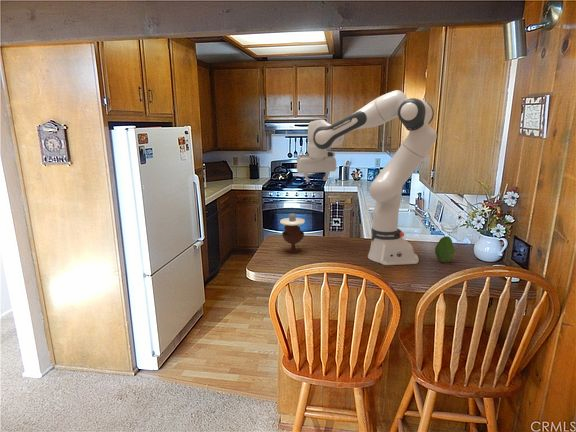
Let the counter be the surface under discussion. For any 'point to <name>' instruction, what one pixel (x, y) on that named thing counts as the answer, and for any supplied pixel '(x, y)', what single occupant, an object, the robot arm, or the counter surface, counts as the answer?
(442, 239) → the avocado
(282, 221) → the lid
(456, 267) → the counter surface
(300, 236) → the ice cream bowl
